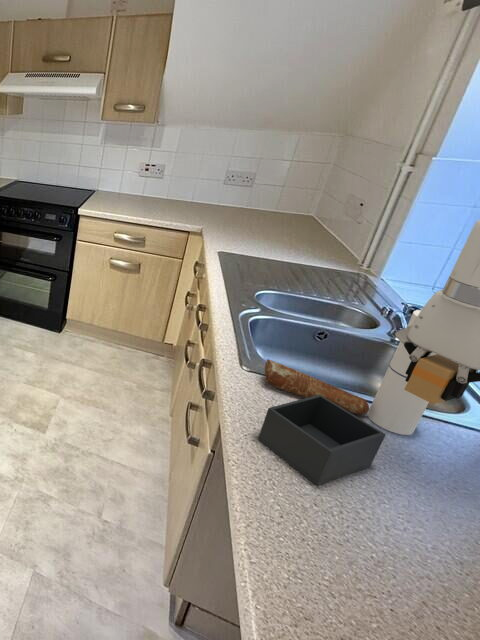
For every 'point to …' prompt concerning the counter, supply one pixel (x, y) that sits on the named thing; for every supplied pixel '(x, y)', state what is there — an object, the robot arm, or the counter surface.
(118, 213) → the counter surface
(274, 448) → the bin
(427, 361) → the carton
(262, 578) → the counter surface
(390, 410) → the cylindrical container
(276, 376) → the bread
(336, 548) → the counter surface
